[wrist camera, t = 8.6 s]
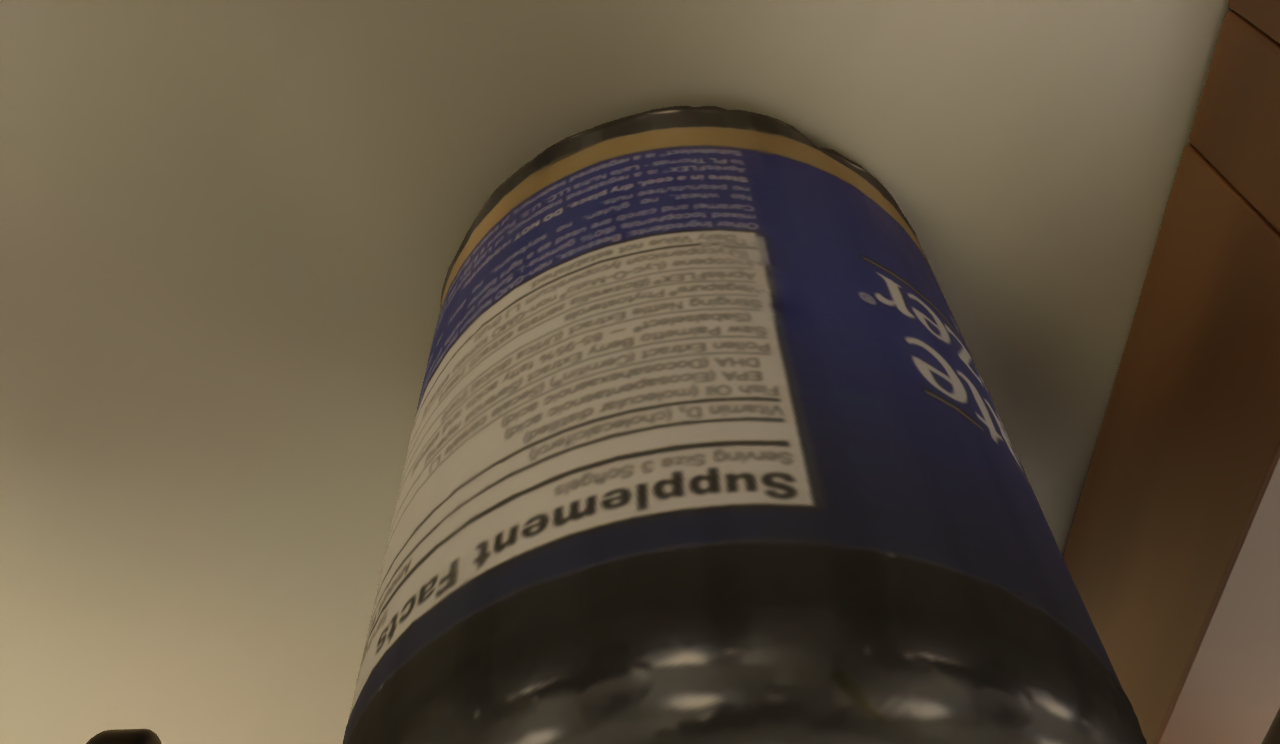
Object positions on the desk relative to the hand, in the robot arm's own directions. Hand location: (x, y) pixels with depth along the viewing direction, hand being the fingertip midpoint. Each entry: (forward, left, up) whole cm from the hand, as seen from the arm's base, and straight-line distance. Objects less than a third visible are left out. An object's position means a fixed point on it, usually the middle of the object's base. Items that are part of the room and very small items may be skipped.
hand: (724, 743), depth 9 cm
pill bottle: (0, 0, -7) cm, 7 cm away
